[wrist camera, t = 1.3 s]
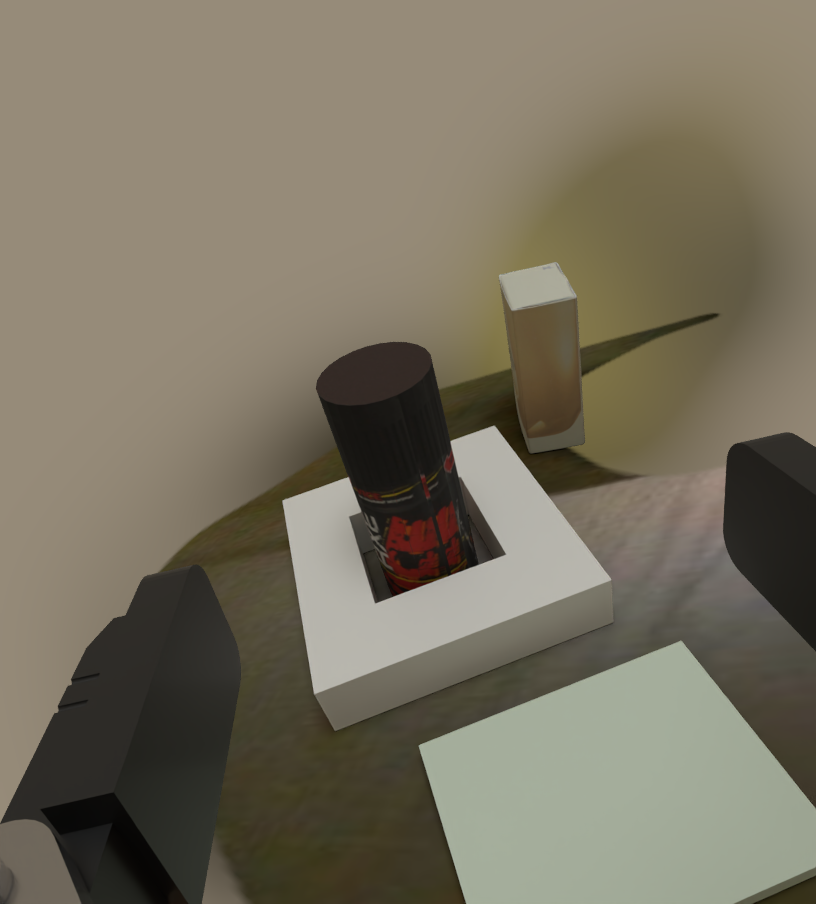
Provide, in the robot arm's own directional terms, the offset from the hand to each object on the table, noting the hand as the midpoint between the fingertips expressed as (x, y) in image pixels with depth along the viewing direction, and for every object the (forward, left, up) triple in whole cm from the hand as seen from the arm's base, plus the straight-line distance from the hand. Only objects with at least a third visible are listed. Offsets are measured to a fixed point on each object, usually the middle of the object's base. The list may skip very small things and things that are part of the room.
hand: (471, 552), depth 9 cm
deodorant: (-1, -21, -23) cm, 31 cm away
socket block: (-1, -21, -22) cm, 31 cm away
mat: (-4, -5, -22) cm, 23 cm away
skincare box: (-14, -31, -23) cm, 41 cm away
